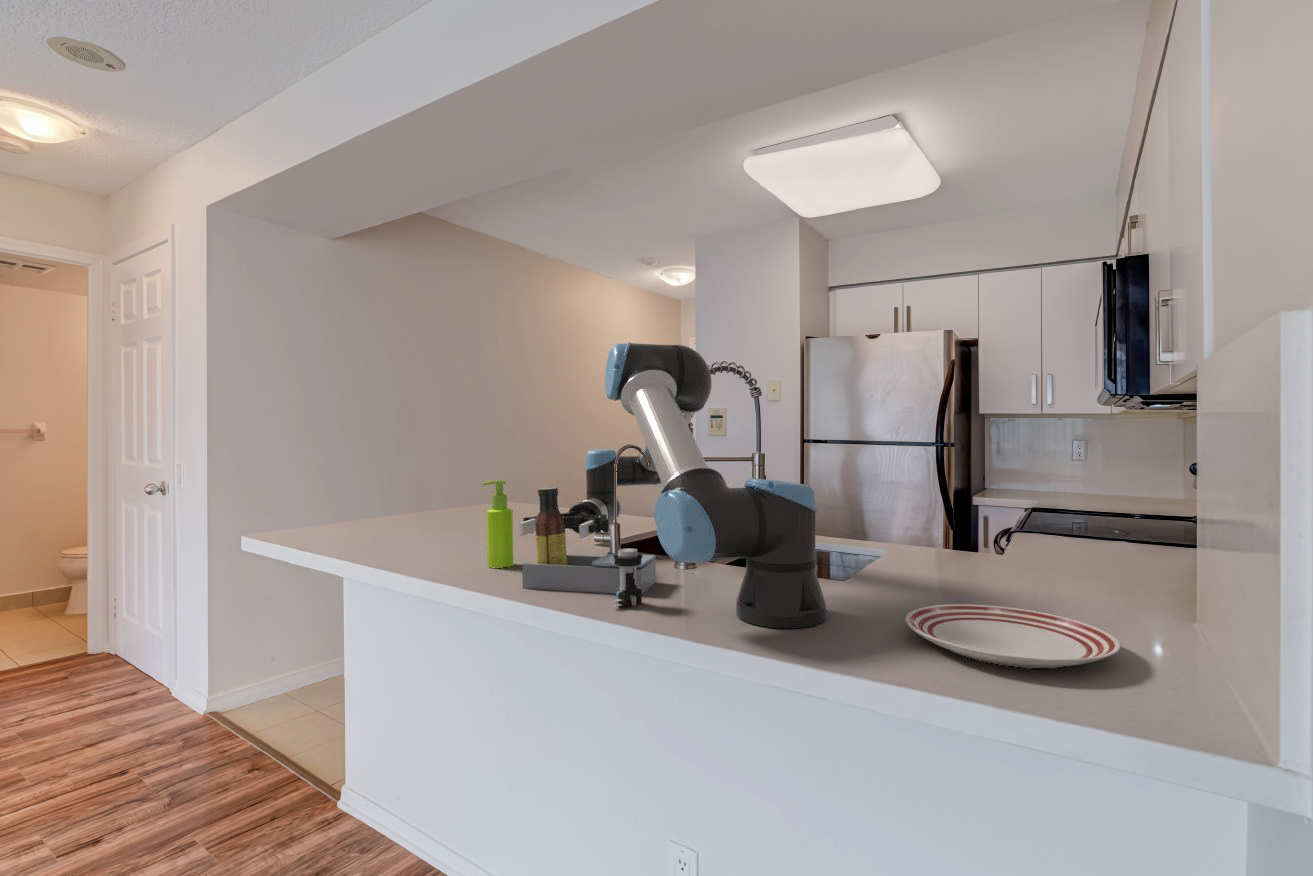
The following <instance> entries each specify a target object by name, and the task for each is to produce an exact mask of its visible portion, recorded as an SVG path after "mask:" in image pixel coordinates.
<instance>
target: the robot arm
mask: <svg viewBox="0 0 1313 876" xmlns="http://www.w3.org/2000/svg"><path fill="white" fill-rule="evenodd" d="M604 375H605V376H604V386H605V387H604V390H605V391H604V392H605V395H606V397H607V399H608V400H611V401H614V402H616V401H620V403H621V405H622V407H623V410H625V411H626V413H628V414H630V415H632V416H634V417H635V420H636V422H637V425H638V428H639V431H640V433H641V435H642V438H643V440H644V444H643V446H642V448H641V451H642V452H643V453H644V455H645V456H646V458H647V460H648V463H649V466H647V464H646V460H645V458H644V456H643V455H642V454H641V453H640V452H641V451H640V452H639V455H634V456H631V455H630V456H627V455H626V456H625V455H624V456H622V455H621V456H620V455H619V456H620V457H619V459H618V463H617V471H616V472H617V486H616V487H621V486H622V487H623V486H651V485H652V486H657V485H662V489H661V491H660V493H659V496H658V498H657V500H656V502H655V503H656V504H655V507H654V523H655V524H656V529H655V530H656V535H657V538H658V540H659V542H660V544H661V547H662V548H663V549H662V550H664V551H665V553H666V554H667V555H668V557H670V558H671V559H673V560H674V561H676V562H678V563H684V564H685V563H694V564H704V563H707V562H716V561H726V560H736V559H745V561H746V562H745V563H746V564H745V565H746V566H745V573H744V576H743V578H742V582H741V585H740V588H739V591H738V595H737V598H736V601H735V610H736V611H735V615H736V617H737V618H739V619H740V620H741V621H744V622H746V623H748V624H752V625H754V626H761V627H767V628H773V629H777V628H778V629H802V628H807V627H812V626H817V625H819V624H822V623H823V622H825V621H826V620H827V603H826V600H825V596H824V594H823V591H822V587H821V585H820V581H819V578H818V575H817V572H816V571H817V570H816V514H817V509H816V508H817V507H816V500H815V497H816V496H815V492H814V490H813V488H812V487H811V486H809V485H807V484H803V483H797V482H789V481H782V480H781V481H780V480H773V479H764V478H763V479H762V478H752V477H750V478H749V477H748V478H747V479H745V483H744V485H743V486H744V487H729V486H728V485H727V483H726V481H725V479H724V476H723V475H722V473H720V472H719V471H718V470H717V469H714V468H711V467H708V464H707V462H706V460H705V458H704V455H703V454H702V451H701V450H700V447H699V446H698V444H697V442H696V440H695V437H694V435H693V433H692V431H691V429H690V427H689V425H690V423H691V422H690V420H691V415H692V419H694V416H695V414H696V413H698V412H699V411H701V410H702V409H703V408H704V407H705V405H706V403H707V401H708V400H709V398H710V395H711V390H712V374H711V371H710V368H709V365H708V364H707V362H706V360H705V359H704V357H703V356H702V355H701V354H700V353H698V351H696V350H695V349H693V348H691V347H689V346H686V345H683V344H655V343H653V344H651V343H631V342H630V341H629V342H628V343H615V344H614V345H612V347H611V348H610V350H609V351H608V355H607V360H606V366H605V374H604ZM683 410H684V415H683ZM691 421H692V420H691ZM688 424H689V425H688ZM617 456H618V455H617V452H616V451H615V450H614V449H610V448H609V449H590V450H588V451H587V453H586V459H585V473H586V474H585V475H586V476H585V477H586V478H585V479H586V500H585V499H584V500H583V501H581V502H577V503H574V504H573V505H572V506H571V507H570V508H569V510H568V511H567V512H562V513H561V512H560V514H561V516H562V517H563V519H564V526H565V530H566V529H568V530H572V531H573V532H575V533H576V534H578V536H579V539H584V538H587V537H589V536H591V535H593V534H594V533H596V534H597V533H601V531H602V532H603V533H605V534H607V533H610V525H611V524H613V520H614V464H615V460H616V457H617ZM621 512H622V506H621V503H620V501H619V499H618V498H617V517H618V518H619V516H621ZM536 517H537V516H536V515H535V516H528V517H527V516H526V517H523V518H522V519H523V521H521V522H519V523H518V524H519V527H518V528H519V536H520V537H524V536H526V535H529V534H534V532H535V533H536V531H535V520H536Z"/></svg>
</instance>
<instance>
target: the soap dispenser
mask: <svg viewBox="0 0 1313 876" xmlns="http://www.w3.org/2000/svg"><path fill="white" fill-rule="evenodd" d="M506 484H507V481H505V480H487V481H484V482H481V484H480V485H482V486H487V485H495V493H494V494H492V495H491V508H490V509H488V510H486V542H487V543H486V546H487V547H486V549H487V567H488V566H489V567H495V568H501V569H504V568H503V567H508V568H511V567H510V566H512V567H513V566H514V520H513V519H514V517H513V516H514V515H513V509H511V508H508V495H507V494H506V493H504V485H506ZM489 567H488V568H489Z"/></svg>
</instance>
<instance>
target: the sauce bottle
mask: <svg viewBox="0 0 1313 876" xmlns="http://www.w3.org/2000/svg"><path fill="white" fill-rule="evenodd" d="M537 494H538V497H539V512H538V514H537V517H536V520H535V535H534V537H535V554H536V555H535V556H536V564H552V565H567V555H568V554H567V538H566V529H565V525H564V519H563V517H562V516H561V511H560V510H559V509H560V508H559V503H558V502H559V501H558V495H559V488H558V487H557V486H556V487H554V486H553V487H552V486H551V487H550V486H549V487H548V486H547V487H540V488H538V490H537Z"/></svg>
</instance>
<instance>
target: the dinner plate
mask: <svg viewBox="0 0 1313 876" xmlns="http://www.w3.org/2000/svg"><path fill="white" fill-rule="evenodd" d="M904 618H905V623H906V625H907V626H908V627H909V628H910V629H911V630H912V631H913V632H915V633H916V634H917V635H919V636H920V637H922V638H924V639H926V640H927V641H928V642H930V643H933V644H935V645H937V646H939V647H941V648H943V649H946V650H948V649H949V650H948V651H950V652H952V653H954V654H956V653H957V654H956V655H959V654H960V655H959V656H961V655H962V657H964V656H966V657H965V658H967V657H969V658H968V659H970V658H972V659H971V660H973V659H975V660H974V661H977V660H979V661H978V662H981V661H984V662H983V663H985V662H989V663H988V664H990V663H995V664H994V665H996V664H999V665H998V666H1001V665H1006V666H1005V667H1008V666H1014V667H1013V668H1017V667H1021V668H1020V669H1031V668H1051V669H1055V668H1054V667H1061V668H1064V667H1063V666H1066V667H1070V666H1080V665H1084V664H1085V665H1086V664H1089V663H1093V662H1098V661H1100V660H1104V659H1106V658H1108V657H1111V656H1113V655H1115V654H1116V653H1118V652H1119V651H1120V649H1121V644H1120V642H1119V640H1118V639H1117V638H1116V637H1115V636H1113V635H1112V634H1110V633H1108V632H1107V631H1104V630H1102V629H1100V628H1099V627H1095V626H1093V625H1090V624H1088V623H1085V622H1082V621H1079V620H1076V619H1072V618H1068V617H1065V616H1060V615H1055V614H1052V613H1046V612H1042V611H1041V612H1040V611H1035V610H1032V609H1031V610H1030V609H1024V608H1018V607H1017V608H1016V607H1010V606H1009V607H1008V606H998V605H988V604H987V605H986V604H969V603H965V604H964V603H957V604H956V603H954V604H953V603H952V604H938V605H937V604H936V605H929V606H924V607H919V608H916V609H913V610H912V611H910V612H908V613H907V614H906V615H905V617H904ZM1022 667H1023V668H1022Z"/></svg>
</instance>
